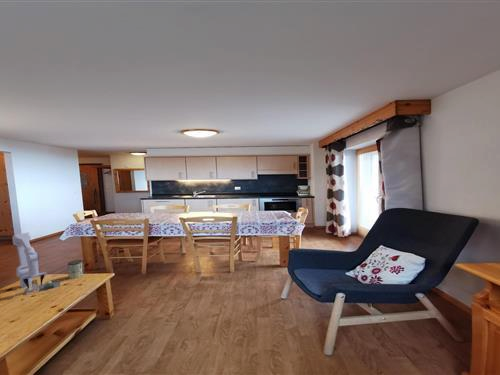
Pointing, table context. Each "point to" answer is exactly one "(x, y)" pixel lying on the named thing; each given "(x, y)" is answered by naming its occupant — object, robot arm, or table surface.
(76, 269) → the coffee can
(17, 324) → the table surface
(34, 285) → the marker
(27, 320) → the table surface
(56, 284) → the activity board
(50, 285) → the button housing
